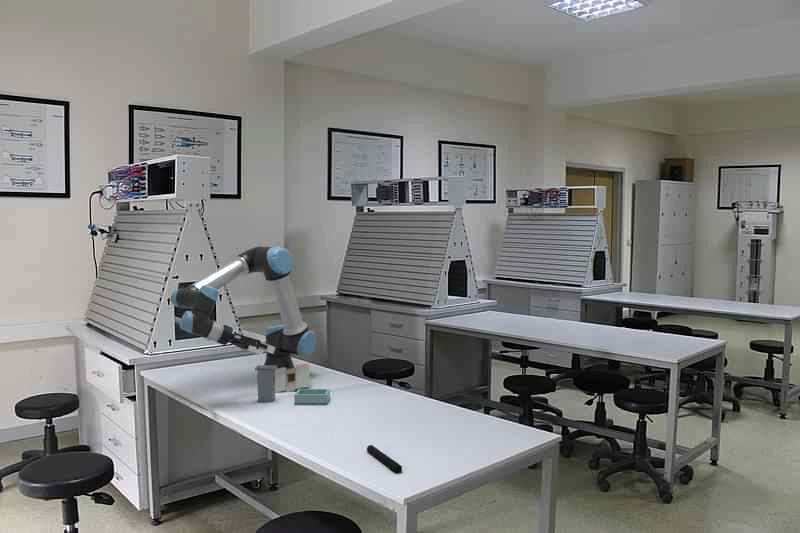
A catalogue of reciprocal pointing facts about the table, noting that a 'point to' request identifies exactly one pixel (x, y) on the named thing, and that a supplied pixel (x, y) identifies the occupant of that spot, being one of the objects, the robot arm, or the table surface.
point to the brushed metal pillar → (266, 382)
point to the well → (312, 397)
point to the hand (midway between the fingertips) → (268, 351)
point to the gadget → (384, 459)
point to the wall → (292, 378)
